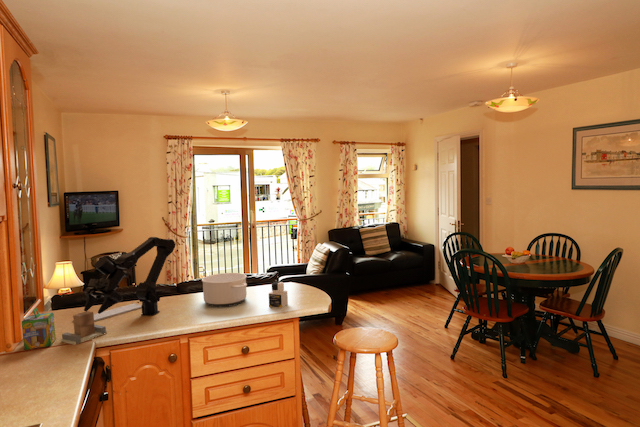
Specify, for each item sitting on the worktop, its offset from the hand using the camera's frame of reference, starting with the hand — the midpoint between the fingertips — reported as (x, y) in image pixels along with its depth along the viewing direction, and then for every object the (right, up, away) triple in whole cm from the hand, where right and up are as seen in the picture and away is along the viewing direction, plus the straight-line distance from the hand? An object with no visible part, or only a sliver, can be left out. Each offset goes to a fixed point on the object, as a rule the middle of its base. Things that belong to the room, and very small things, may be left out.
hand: (91, 312), depth 174 cm
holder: (-1, -10, -3) cm, 10 cm away
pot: (+47, -5, +42) cm, 64 cm away
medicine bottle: (+76, -5, +33) cm, 83 cm away
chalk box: (-16, -11, -9) cm, 21 cm away
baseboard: (-8, -9, +30) cm, 32 cm away
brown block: (-1, -9, -3) cm, 9 cm away
